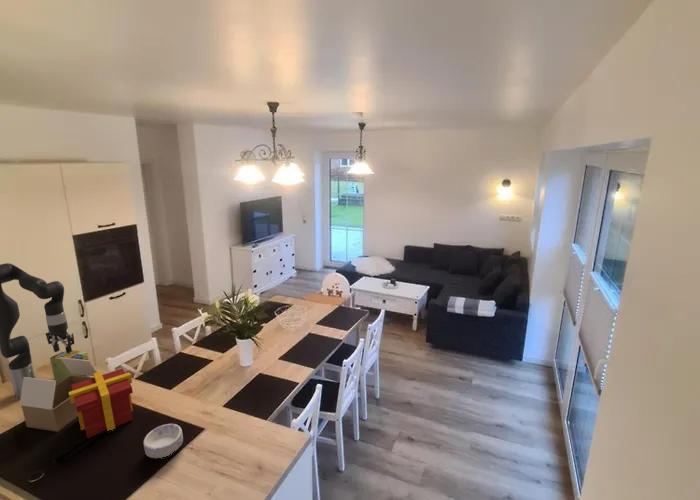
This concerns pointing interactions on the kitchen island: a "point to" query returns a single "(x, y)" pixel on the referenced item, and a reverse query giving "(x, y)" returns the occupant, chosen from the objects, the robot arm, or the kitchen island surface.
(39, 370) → the kitchen island surface
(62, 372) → the protein box
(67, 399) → the carton
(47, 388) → the near flap
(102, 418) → the gift box
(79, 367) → the far flap
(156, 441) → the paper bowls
